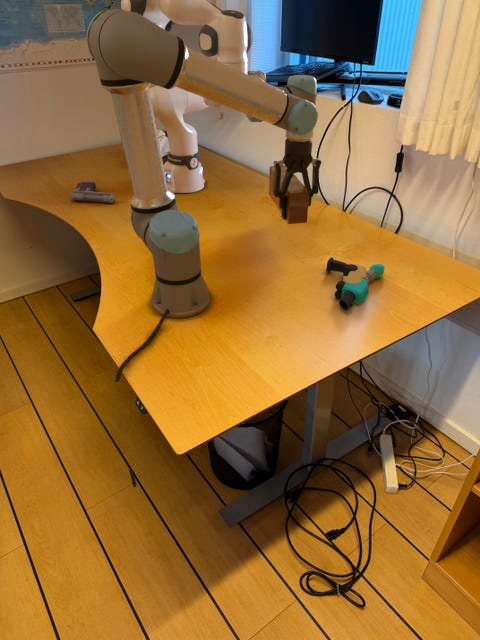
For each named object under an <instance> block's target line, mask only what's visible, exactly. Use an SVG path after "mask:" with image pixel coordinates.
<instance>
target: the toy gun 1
mask: <svg viewBox="0 0 480 640" xmlns="http://www.w3.org/2000/svg"><path fill="white" fill-rule="evenodd" d="M96 190H97V183H96V181H94V180H85V181H80V182H78V183H77V184H76V186H75V189H74V190H72V191H71V194H70V196H69V198H71V200H72V201H80V202H81V201H82V202H93V203H107V204H113V203H114V199H115V195H114V193H111V192H106V191H105V192H104V191H102V192H101V191H96Z"/></svg>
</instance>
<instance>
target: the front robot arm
mask: <svg viewBox="0 0 480 640" xmlns="http://www.w3.org/2000/svg"><path fill="white" fill-rule="evenodd" d="M86 43H87V49H88V51H89V53H90V56H91V57H92V60H94V61H95V65H96V69H97V74H98V77H99V81H100V85H101V87H102V88H103V89H105V90H106V91H107V92H108V93H109V94H110V97H111V102H112V105H113V110H114V113H115V114H114V115H115V119H116V123H117V127H118V131H119V135H120V139H121V145H122V149H123V153H124V157H125V161H126V166H127V170H128V174H129V178H130V183H131V186H132V190H133V195H132V196H131V197H130V199H129V205H130V209H131V211H130V221H131V226H132V229H133V231H134V233H135V234H136V235H137V236H138V238H140V240H141V241H142V242H143V243H144V245H145V247H146V248H147V249H148V251H149V252H150V254H151V256H152V260H153V261H152V262H153V268H154V274H155V275H154V276H155V281H154V284H153V290H152V294H151V305H152V308H153V310H154V311H155V312H156V313H157V314H159V315H160V316H161V318H160V319H159V322H158V323H157V324H156V327H155V328H154V329H153V331H152V333H150V335H149V336H148V338H147V339H146V340H145V341H144V342H143V343H142V344H141V345H140V346H139V347H137V348H136V350H134V351H132V353H130V355H128V356H127V357H126V359H125V360H124V361H123V362H122V363H121V364H120V366H119V367H118V370H117V372H116V375H115V379H114V382H115V383H118V382H120V380H121V376H122V372H123V370H124V368H125V367H126V366H127V365H128V364H129V363H130V361H131V360H132V359H133V358H134V357H136V356H137V355H138V354H140V353H141V351H143V350H144V349H145V348H146V347H147V346H148V345H149V343H151V342H152V340H153V339H154V338H155V336H156V335H157V333H158V332H159V330H160V329H161V328H162V325H163V323H164V322H165V320H166V318H171V319H183V318H185V319H186V318H190V317H194V316H196V315H199V314H201V313H202V312H204V311H205V310H207V308H208V307H209V306H210V303H211V292H210V290H209V288H208V286H207V284H206V281H205V278H204V277H203V275H202V262H201V261H202V259H201V243H200V242H201V241H200V238H201V237H200V235H201V234H200V230H199V226H198V221H197V219H196V218H195V217H194V216H193V215H192V214H190V213H188V212H186V211H181V210H178V204H177V200H176V193H174V192H173V191H171V190H169V189H168V188H167V182H166V177H165V172H164V166H163V165H164V161H163V157H162V156H161V150H160V145H159V140H158V134H157V130H158V129H157V123H156V119H155V118H156V117H155V116H154V113H153V107H152V102H151V97H150V91H149V89H150V87H151V85H154V86H160V87H163V88H166V89H168V90H170V89H172V88H174V87H178V88H180V89H183V90H185V91H188V92H191V93H193V94H196V95H198V96H201V97H203V98H206V99H209V100H211V101H214V102H216V103H219V104H221V105H220V106H224V107H227V108H230V109H232V110H234V111H237V112H239V113H242V114H245V117H246V116H247V117H246V118H247V120H248V121H249V122H251V123H261V122H265V123H268V124H270V125H272V126H275V127H277V128H279V129H282V130H285V138H286V139H285V141H284V156H283V157H282V159H281V160H278V161H277V160H274V161H273V166H274V167H275V176H274V187H273V194H274V195H275V197H279V207H280V209H282V214H281V219H282V220H283V221H286V212H287V198H286V197H285V195H286V192H287V189H288V187H289V184H290V181H291V178H292V177H293V174H297V173H301V176H302V181H303V185H304V186H305V188H306V189H307V190H308V191H309V202H308V207H311V206H312V198H313V197H314V195H317V194H319V187H320V186H319V185H320V168H321V165H322V160H321V159H320V158H319V157H313V155H312V153H313V139H312V138H313V137H314V128H316V125H317V122H318V119H319V114H318V109H317V107H316V101H317V96H318V94H317V90H318V89H317V86H318V85H317V79H316V77H314V76H313V75H309V74H294V75H290V76H289V77H288V78H287V83H286V85H284V86H274V85H272V84H270V83H268V82H266V83H265V82H263V81H261V80H259V79H257V78H254V77H252V76H250V75H248V74H245V73H243V72H241V71H239V70H237V69H234V68H232V67H230V66H228V65H226V64H223V63H221V62H220V60H217V59H216V58H215V59H214V58H210V57H208V56H206V55H204V54H203V53H202V52H199V51H198V50H197V51H196V50H195V49H192V48H190V47H189V46H188V47H187V44H186V42H185V40H184V39H183V38H182V37H180V36H178V35H176V34H173V33H172V32H170V31H166V30H164V29H163V28H161V27H159V26H158V25H156V24H155V23H153V22H152V21H150V20H148V19H147V18H145V17H143V16H142V15H140V14H138V13H135V12H131V11H125V10H123V9H121V8H118V7H117V8H114V7H113V8H112V7H110V8H107V9H103V10H101V11H99V12H97V14H95V15H94V16H93V17H92V19H91V20H90V21H89V25H88V27H87V31H86ZM283 165H285V166H286V167H287V169H286V174H285V177H284V180H283V183H282V186H281V189H280V180H281V169H282V168H283ZM310 165H311V166H312V170H311V171H312V175H311V181H310V178H309V172H308V167H310ZM279 190H280V192H279ZM128 472H129V475H130V480H131V484H132V487H133V488H136V487H137V481H136V476H135V472H134V469H129V470H128Z"/></svg>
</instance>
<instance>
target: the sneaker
mask: <svg viewBox="0 0 480 640" xmlns="http://www.w3.org/2000/svg"><path fill="white" fill-rule="evenodd" d="M157 134H158V140H159V145H160V150H161V156H162V158H163V157H166V155H167V154H169V153H166V152H170V149H169V142H168V136H167V131H166V130H164V129H163V130H161V129H157Z"/></svg>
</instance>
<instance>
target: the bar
mask: <svg viewBox="0 0 480 640" xmlns="http://www.w3.org/2000/svg"><path fill="white" fill-rule="evenodd" d="M286 169H287V167H286V166H285V164H283V168H282V169H281V180H280V189H281V186H282V183H283V180H284V177H285V174H286ZM274 176H275V167H274V165H270V166H269V176H268V177H269V178H268V179H269V180H268V195H269V197H270V199H271V200H272V201H273V203H274V204H275V206H276V208H277V209H278V211H279V212H280V214H281V215H282V209H280V207H279V197H275V195H274V194H273V187H274ZM279 192H280V190H279ZM285 197H286V198H287V212H286V220H285V221H286V223H287V224H288V225H295V224H307V223H308V215H309V214H308V213H309V206H308V202H309V191H308V190H307V189H306V188H305V186H304V183H302V181H301V180H300V179H299V178H298V176H297V175H296V173H294V174H293V177H292V178H291V181H290V184H289V187H288V189H287V192H286V195H285Z"/></svg>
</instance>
